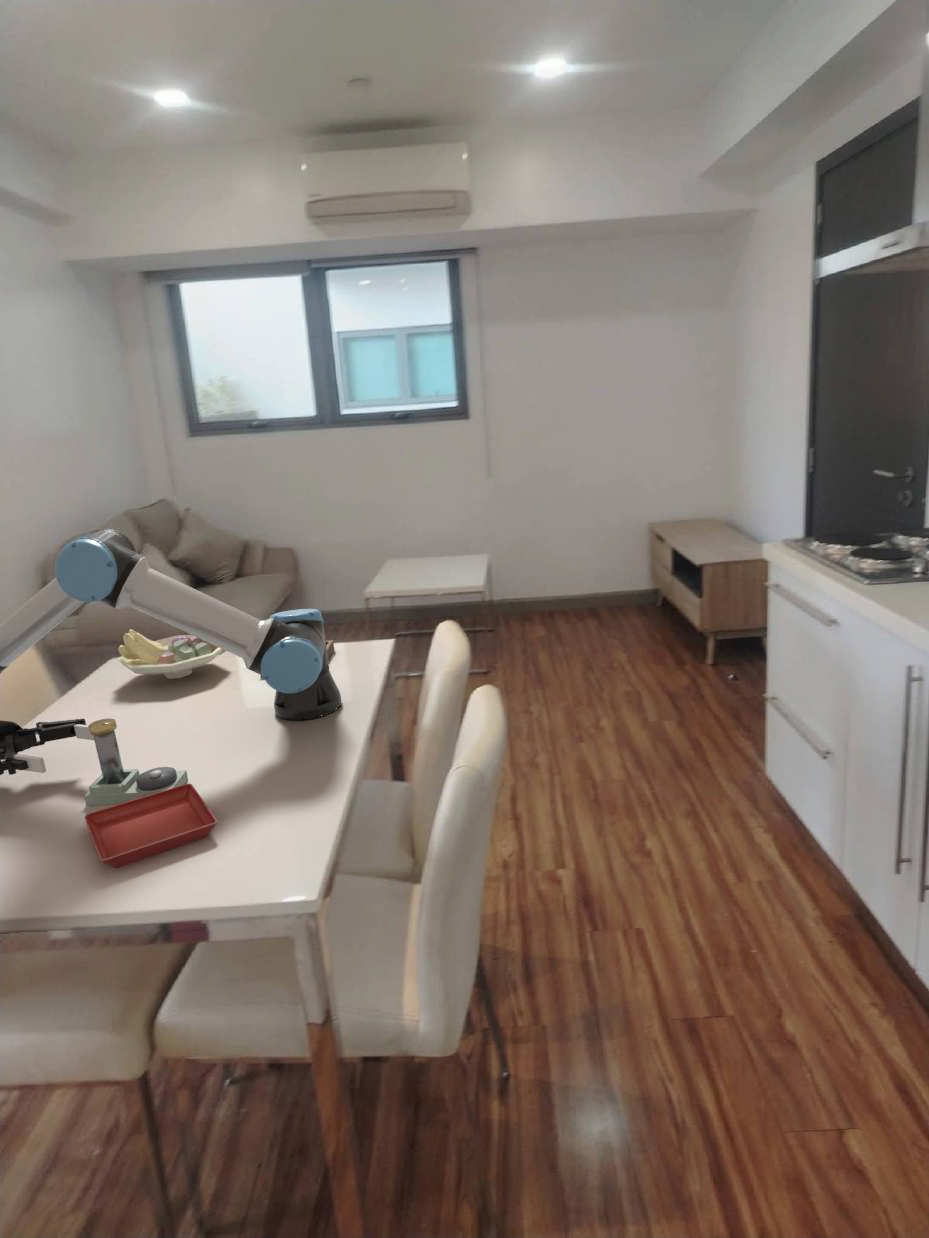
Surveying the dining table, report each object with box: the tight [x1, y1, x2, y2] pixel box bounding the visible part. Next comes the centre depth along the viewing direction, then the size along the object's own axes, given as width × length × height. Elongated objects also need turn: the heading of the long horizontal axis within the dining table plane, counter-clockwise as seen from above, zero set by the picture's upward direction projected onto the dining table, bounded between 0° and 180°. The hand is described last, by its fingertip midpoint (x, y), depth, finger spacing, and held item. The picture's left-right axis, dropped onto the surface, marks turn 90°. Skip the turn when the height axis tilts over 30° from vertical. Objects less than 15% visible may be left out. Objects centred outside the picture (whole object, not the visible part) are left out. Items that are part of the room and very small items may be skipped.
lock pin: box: [88, 718, 125, 785], centre depth 146 cm, size 5×5×12 cm
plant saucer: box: [84, 783, 218, 868], centre depth 133 cm, size 18×18×3 cm
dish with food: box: [117, 629, 227, 680], centre depth 211 cm, size 28×28×14 cm
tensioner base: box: [83, 766, 189, 807], centre depth 147 cm, size 16×8×4 cm, turn 88°
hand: (73, 749), depth 149 cm, fingers open, 13 cm apart
